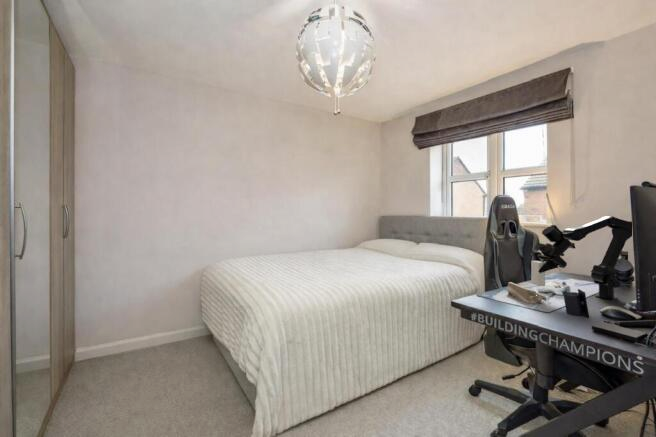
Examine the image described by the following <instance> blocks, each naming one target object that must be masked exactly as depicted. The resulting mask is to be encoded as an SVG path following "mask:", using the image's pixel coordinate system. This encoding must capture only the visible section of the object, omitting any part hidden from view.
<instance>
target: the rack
mask: <svg viewBox="0 0 656 437" xmlns="http://www.w3.org/2000/svg"><path fill="white" fill-rule="evenodd" d="M526 288H527V287H525V288H524V286H521V285H519V284H516V283H514V282H512V281H511V282H510V281H508V283H507V293H510V294H512V295H513V297H514V296H515V297H514V298H516V297H517V298H516V299H518V298H519V300H520V299H521V300H520V301H522V300H523V302H524V301H525V302H524V303H526V302H527V304H533V303H532V302H543V301H542V300H544V299H545V300H544V301H547V296H545V295H542V294H540V293H537V292H536V295H537V296H531V290H532V289H530V288H528V289H526ZM529 289H530V290H529ZM510 294H509V295H510ZM512 295H511V296H512ZM542 298H543V299H542Z"/></svg>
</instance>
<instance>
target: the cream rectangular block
mask: <svg viewBox="0 0 656 437" xmlns="http://www.w3.org/2000/svg"><path fill="white" fill-rule="evenodd" d="M530 263H531V264H530V265H531V267H530V271H531V272H530V273H531V275H530V276H531V280H530V281H531V282H530V283H531V284H532V285H535V286H537V287H545V286H546V271H545V272H542V273H539V272H538V271H539V270H540V268H541V267H542V266H543V265H544V264H545V262H541V261H534V260H531V262H530Z"/></svg>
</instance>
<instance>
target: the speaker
mask: <svg viewBox="0 0 656 437" xmlns="http://www.w3.org/2000/svg"><path fill="white" fill-rule="evenodd" d="M562 294H563V298H564V299H563V300H564V307H565V311H566V314H568V315H572V316H581V315H583V316H585V317H587V319H589V318H590V313H589V308H588V302H587V301H588V300H587V296H586V291H584V290H581V289H579V288H578V289H577V292H573V291H572V292H571V291H570V292H569V291H568V292H564V293H562Z"/></svg>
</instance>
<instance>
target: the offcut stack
mask: <svg viewBox="0 0 656 437" xmlns="http://www.w3.org/2000/svg"><path fill="white" fill-rule="evenodd" d="M523 287H524V286H523ZM524 288H526V289H529V290H531V296H536V293H537V291H535V290H533V289H530V288H527V287H524Z"/></svg>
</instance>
